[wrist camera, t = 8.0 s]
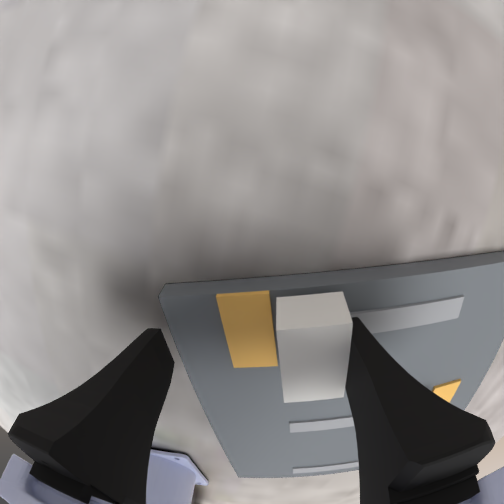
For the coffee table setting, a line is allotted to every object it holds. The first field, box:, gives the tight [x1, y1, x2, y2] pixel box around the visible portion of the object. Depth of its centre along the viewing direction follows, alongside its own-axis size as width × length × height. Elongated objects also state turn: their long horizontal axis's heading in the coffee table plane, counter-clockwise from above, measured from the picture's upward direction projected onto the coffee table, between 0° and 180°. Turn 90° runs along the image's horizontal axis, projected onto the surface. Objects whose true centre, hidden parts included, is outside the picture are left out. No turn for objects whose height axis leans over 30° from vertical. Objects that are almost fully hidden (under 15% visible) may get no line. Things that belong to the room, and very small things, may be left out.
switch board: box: [158, 251, 504, 478], centre depth 15 cm, size 18×20×1 cm
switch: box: [276, 291, 353, 403], centre depth 10 cm, size 2×4×2 cm, turn 8°
